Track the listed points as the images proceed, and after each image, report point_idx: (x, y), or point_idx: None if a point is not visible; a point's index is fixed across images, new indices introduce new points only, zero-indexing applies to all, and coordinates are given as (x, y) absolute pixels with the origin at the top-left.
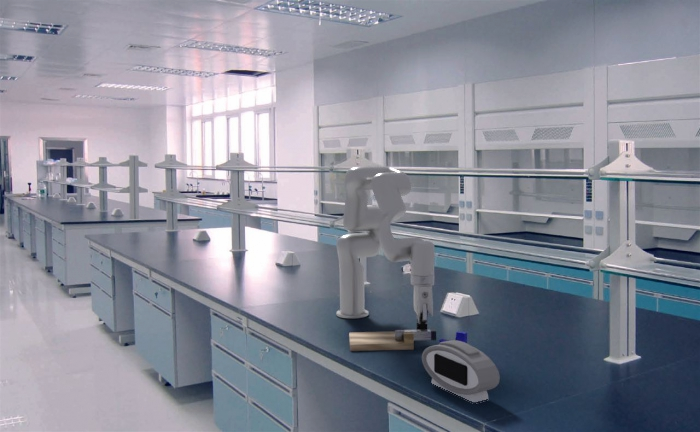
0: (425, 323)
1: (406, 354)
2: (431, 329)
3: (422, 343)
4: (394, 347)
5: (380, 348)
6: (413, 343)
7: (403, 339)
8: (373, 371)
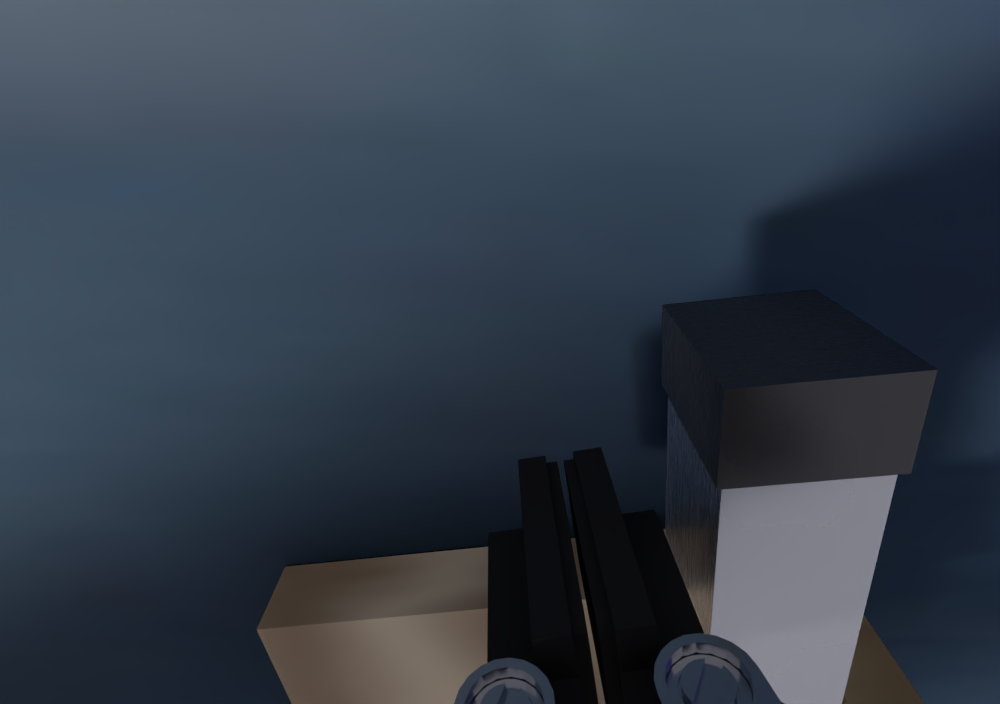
0: (732, 680)
1: (962, 574)
2: (756, 463)
3: (544, 425)
4: None
5: None
6: None
7: None
8: None
